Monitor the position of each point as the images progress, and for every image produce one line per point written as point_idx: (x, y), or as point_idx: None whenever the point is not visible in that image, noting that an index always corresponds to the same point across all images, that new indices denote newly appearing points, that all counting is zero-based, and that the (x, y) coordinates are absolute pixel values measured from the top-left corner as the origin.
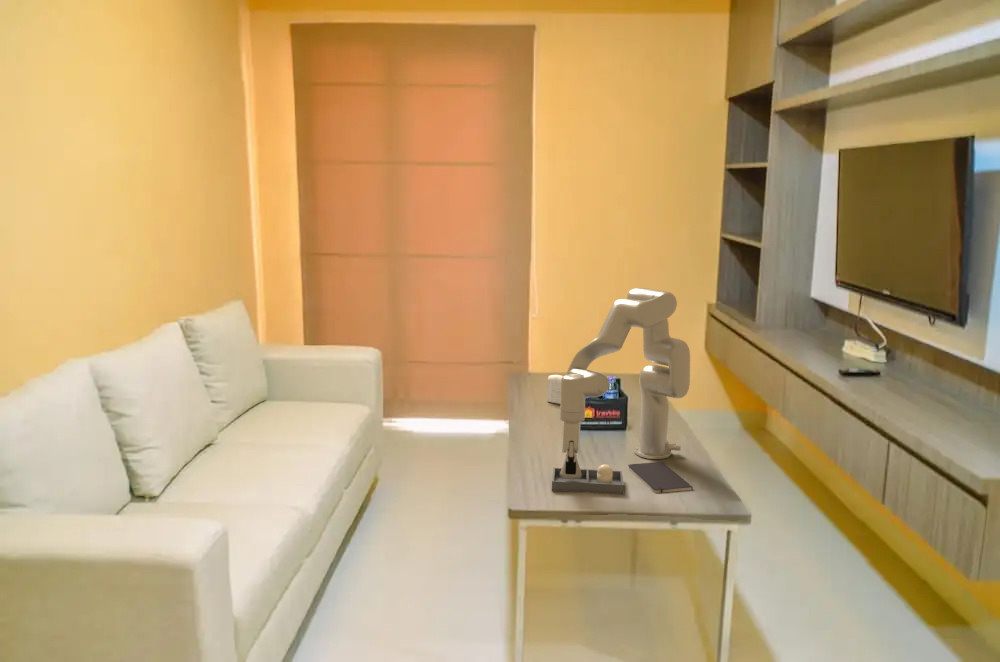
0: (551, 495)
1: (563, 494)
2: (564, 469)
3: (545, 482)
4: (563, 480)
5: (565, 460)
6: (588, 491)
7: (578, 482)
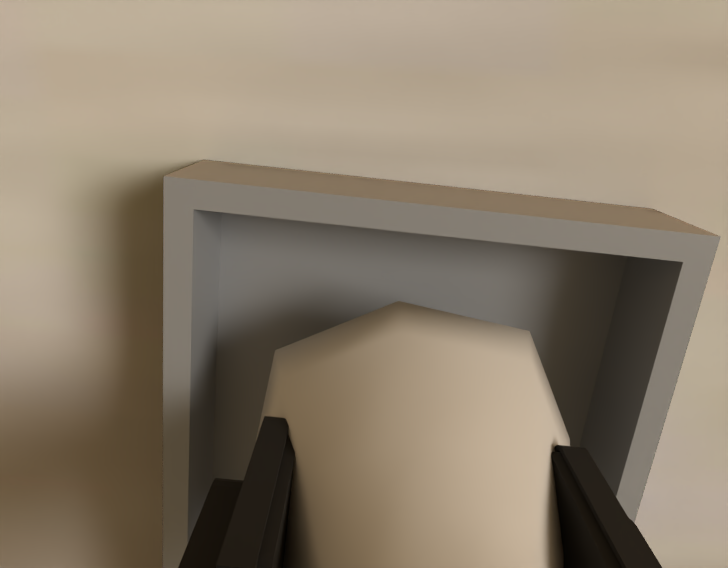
0: (58, 146)
1: (111, 289)
2: (326, 426)
3: (461, 92)
4: None
5: (400, 546)
6: None
7: (168, 515)
